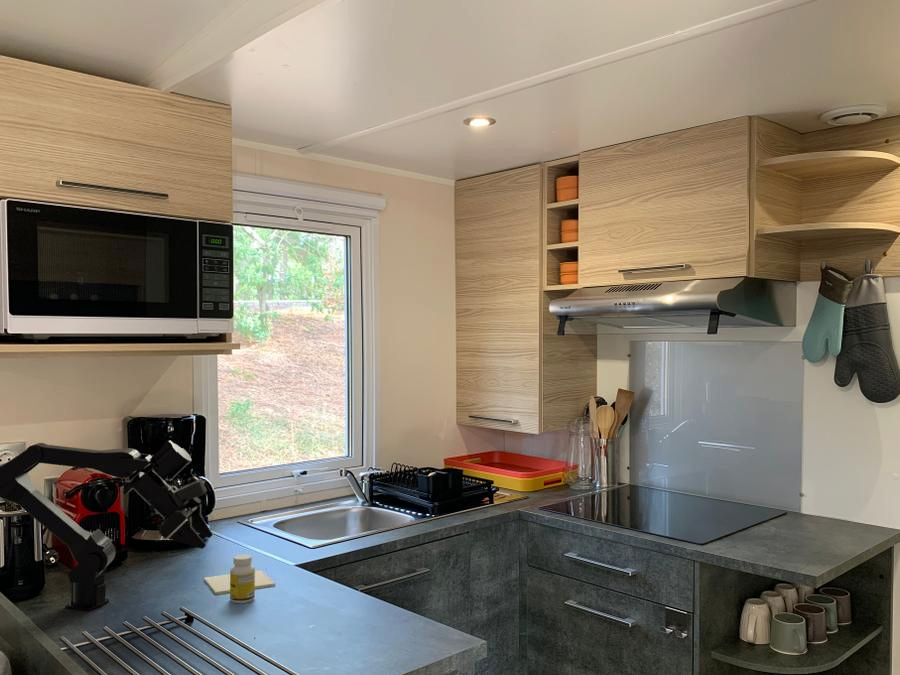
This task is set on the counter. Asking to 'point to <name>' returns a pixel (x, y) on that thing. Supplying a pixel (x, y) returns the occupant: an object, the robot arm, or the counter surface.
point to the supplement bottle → (242, 579)
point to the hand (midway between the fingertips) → (207, 541)
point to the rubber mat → (223, 582)
